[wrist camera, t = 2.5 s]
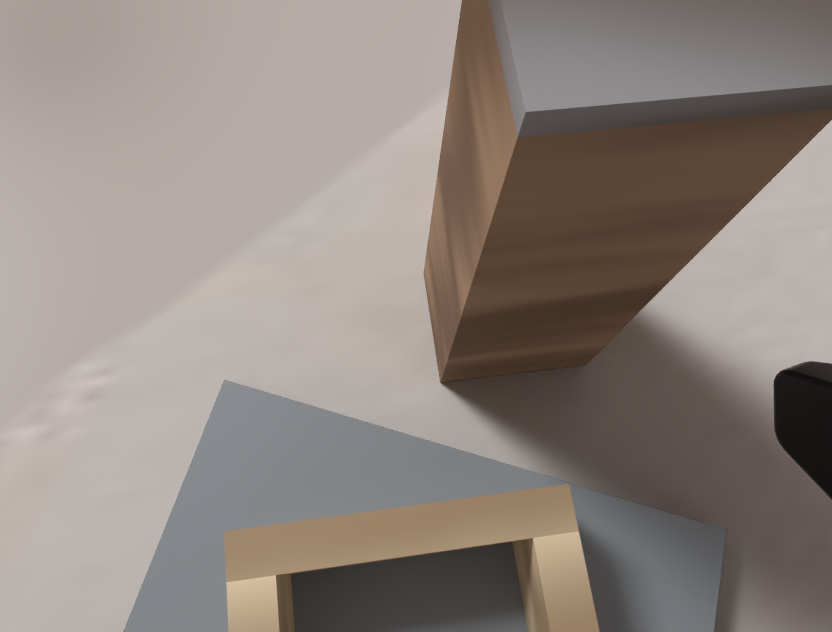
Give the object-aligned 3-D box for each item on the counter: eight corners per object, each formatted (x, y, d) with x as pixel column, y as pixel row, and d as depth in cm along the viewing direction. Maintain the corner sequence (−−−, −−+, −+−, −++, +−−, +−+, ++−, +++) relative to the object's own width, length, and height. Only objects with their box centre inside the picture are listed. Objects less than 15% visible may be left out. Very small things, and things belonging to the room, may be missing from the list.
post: (585, 364, 24) (869, 81, 10) (440, 382, 23) (526, 112, 9) (561, 257, 25) (782, -123, 11) (423, 272, 24) (476, -105, 11)
